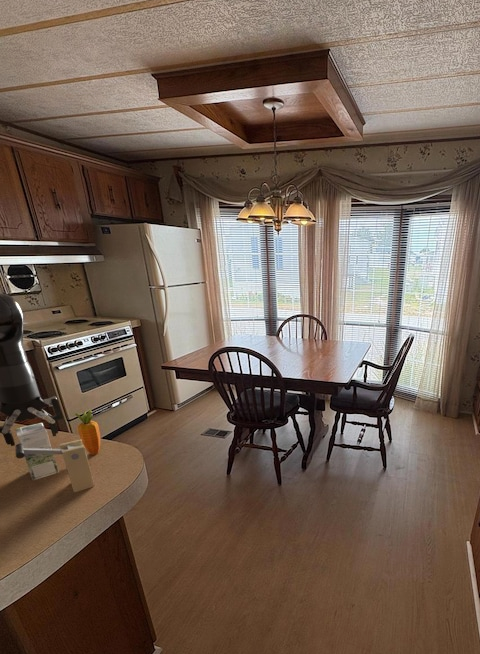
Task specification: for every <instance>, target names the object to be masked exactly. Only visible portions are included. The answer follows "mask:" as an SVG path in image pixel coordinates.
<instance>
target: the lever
mask: <svg viewBox="0 0 480 654" xmlns="http://www.w3.org/2000/svg"><path fill="white" fill-rule="evenodd" d="M14 447H15V449H14V450H15V457H16V459H23V458H25V457H24V456H25V454H54V455H63V454H62V451H63V450H67V449H71V448H75V447H79V446H67V449H61V448H52V449H41V448H24V445H23V444H20V443H17V444H15V446H14Z"/></svg>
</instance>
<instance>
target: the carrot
mask: <svg viewBox="0 0 480 654" xmlns="http://www.w3.org/2000/svg"><path fill="white" fill-rule="evenodd" d="M92 414H93V411H92V410H87V411H84V412H83V413H82V416H81V415H80V414H79V413H78V412H76V413H74V416H76V417H77V418H78V419H79V420H80V423H79V425H77V432H78V436H79V439H81V440H82V443H83V445H84V448H85V451H87V452H88V453H89V455H91V456H95V455H98V454H99V452H100V449H101V432H100V426H99V423H98V422H96V421H94V420H92V419H93V418H94V415H92Z"/></svg>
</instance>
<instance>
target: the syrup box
mask: <svg viewBox="0 0 480 654" xmlns="http://www.w3.org/2000/svg"><path fill="white" fill-rule="evenodd" d="M14 430H15V433H16V437H17V440H18V444H23V445H24V448H41V449H53V448H52V445H51V442H50V438H49V435H48V431H47V429H46V427H45V425H44V423H43V422H39V423H33V424H30V425H25V426H21V427H16V428H14ZM23 458H24V460H25V463H26V465H27V469H28V471H29V474H30V478H31V480H32V481H36V480H40V479H43V478H45V477H49V476H53V475H55V474H58V473H60V471H59V467H58V464H57V461H56V458H55V454H25V456H24V457H23Z"/></svg>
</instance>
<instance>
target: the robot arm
mask: <svg viewBox="0 0 480 654" xmlns="http://www.w3.org/2000/svg"><path fill="white" fill-rule="evenodd" d="M23 341H24V314H23V309H22V307H21V305H20V304H19V303H18V302H17V300H16V299H15V298H14V297H12V296H11V295H10V294H6V293H2V292H1V293H0V413H1V414H3V415H5V416H7V417H6V419H5V421H4V422H3V424H2V425H0V434H1V435H2V436H3V438H4V441H5V444H7V446H9V445H10V446H11V447H15V446H16V441H15V439H14V435H13V433H12V431H11V428H12V427H13V425H14V424H15V422H23V421H26V420H33V419H36V418H37V417H38V418H39V419H41V420H44V421H45V422H48V424H49V429H50V431H51V434H52V435H51V436H52V437H56V436H57V435H58V434H59V428H58V425H57V422H58V421H62V420H63V419H64V416H63V413H62V409H61V407H60V404H59V402H58V398H57V396H55V395H52V396H50V397H48V398H42V397H41V394H40V391H39V388H38V384H37V381H36V377H35V375H34V372H33V368H32V366H31V364H30V363H29V360H28V357H27V353H26V350H25V347H24V343H23ZM45 405H48V407H50V408H53V410H54V412H55V414H54V415H51V414H50V413H48V412H47V411H45V410H44V409H43V408H44V407H45Z"/></svg>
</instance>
